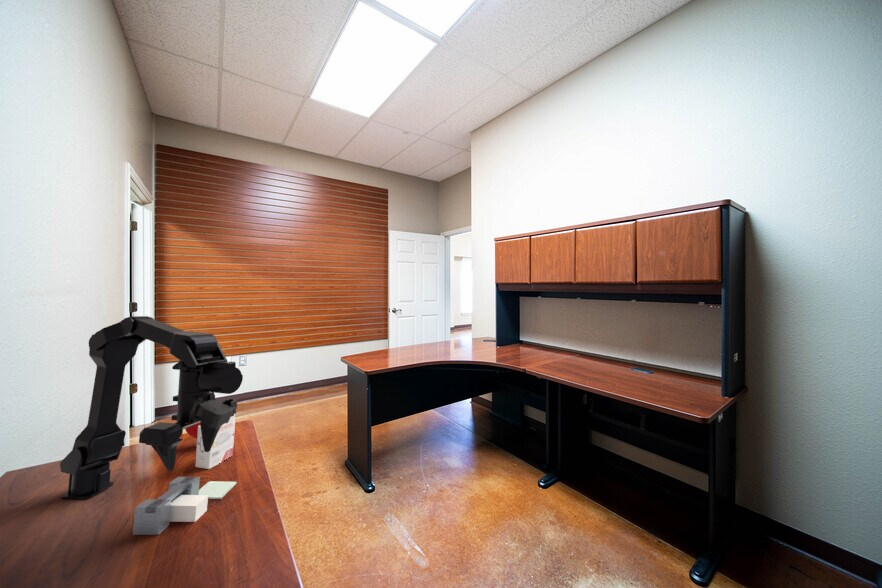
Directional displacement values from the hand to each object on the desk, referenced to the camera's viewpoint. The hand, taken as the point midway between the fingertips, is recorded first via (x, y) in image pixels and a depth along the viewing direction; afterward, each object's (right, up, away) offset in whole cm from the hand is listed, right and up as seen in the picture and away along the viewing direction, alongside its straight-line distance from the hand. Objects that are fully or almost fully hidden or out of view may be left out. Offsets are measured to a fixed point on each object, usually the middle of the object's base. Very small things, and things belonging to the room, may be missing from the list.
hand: (190, 460), depth 73 cm
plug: (-2, -12, 0) cm, 12 cm away
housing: (-4, -12, -1) cm, 13 cm away
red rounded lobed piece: (-22, -13, +33) cm, 42 cm away
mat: (-1, -13, +10) cm, 16 cm away
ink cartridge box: (-11, -13, +24) cm, 30 cm away
